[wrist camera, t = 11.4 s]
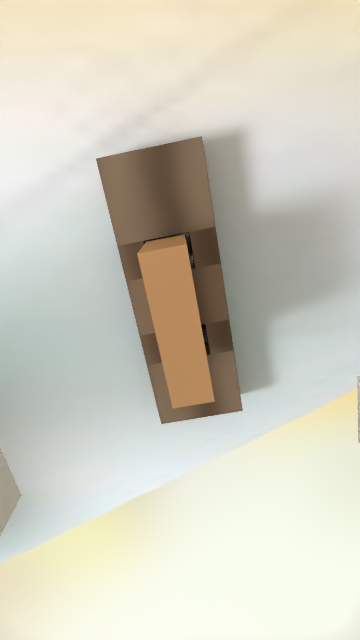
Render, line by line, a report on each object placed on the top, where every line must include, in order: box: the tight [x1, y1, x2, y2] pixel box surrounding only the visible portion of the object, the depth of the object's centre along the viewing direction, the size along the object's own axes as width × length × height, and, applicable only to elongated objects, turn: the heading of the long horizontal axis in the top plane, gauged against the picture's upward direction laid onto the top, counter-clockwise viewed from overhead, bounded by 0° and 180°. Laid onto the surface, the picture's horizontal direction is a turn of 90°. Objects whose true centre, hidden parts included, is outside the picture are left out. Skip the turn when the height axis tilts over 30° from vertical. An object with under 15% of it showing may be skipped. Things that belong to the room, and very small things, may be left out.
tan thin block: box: [137, 235, 215, 408], centre depth 27 cm, size 3×11×10 cm, turn 11°
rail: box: [96, 137, 243, 424], centre depth 30 cm, size 8×24×2 cm, turn 11°
